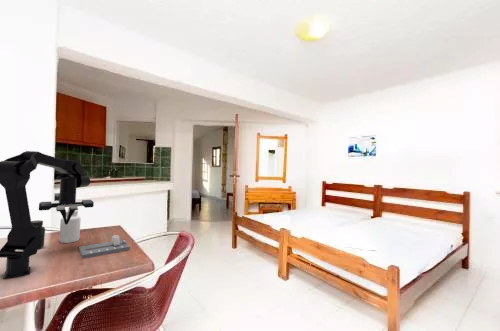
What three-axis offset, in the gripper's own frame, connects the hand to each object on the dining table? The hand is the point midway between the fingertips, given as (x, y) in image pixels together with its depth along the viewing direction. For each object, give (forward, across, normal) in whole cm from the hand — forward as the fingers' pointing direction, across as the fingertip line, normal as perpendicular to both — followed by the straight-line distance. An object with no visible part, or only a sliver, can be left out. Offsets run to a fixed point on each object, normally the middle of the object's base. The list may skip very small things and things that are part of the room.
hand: (66, 224), depth 103 cm
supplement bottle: (+12, +10, -12) cm, 20 cm away
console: (+12, -14, +7) cm, 20 cm away
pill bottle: (+12, -3, -16) cm, 20 cm away
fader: (+10, -18, +7) cm, 22 cm away
